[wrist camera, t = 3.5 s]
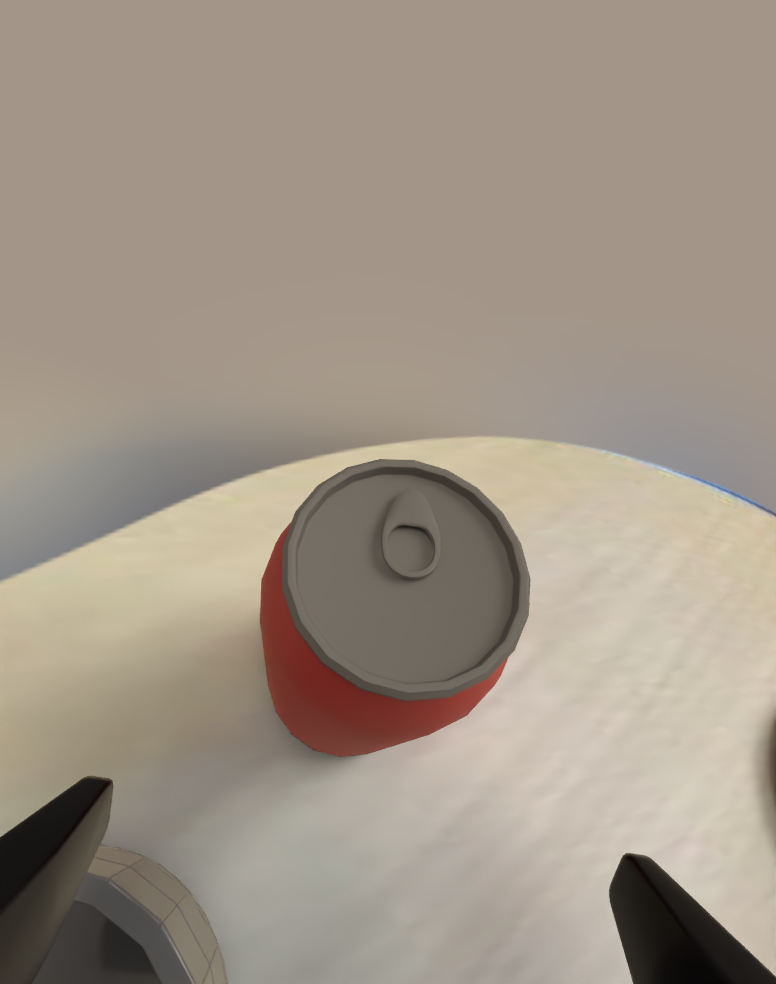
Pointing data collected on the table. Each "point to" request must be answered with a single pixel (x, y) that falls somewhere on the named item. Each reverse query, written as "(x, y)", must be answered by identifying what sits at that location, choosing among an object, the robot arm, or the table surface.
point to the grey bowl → (133, 929)
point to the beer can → (389, 606)
